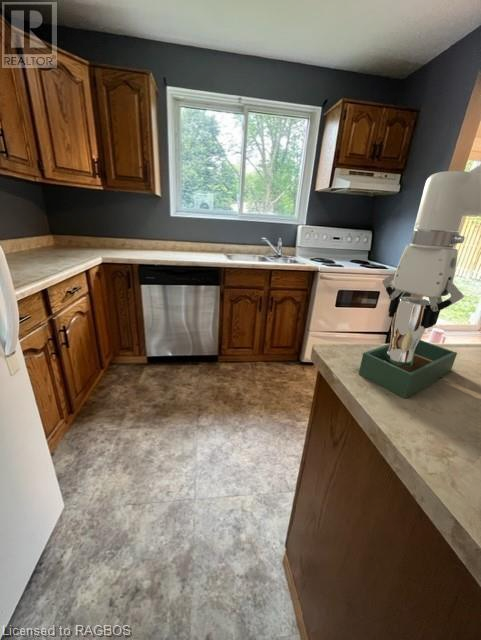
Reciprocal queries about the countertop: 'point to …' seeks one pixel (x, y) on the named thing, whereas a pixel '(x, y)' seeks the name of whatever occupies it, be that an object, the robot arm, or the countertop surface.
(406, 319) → the beer glass
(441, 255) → the robot arm
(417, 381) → the divided box
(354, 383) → the countertop surface
